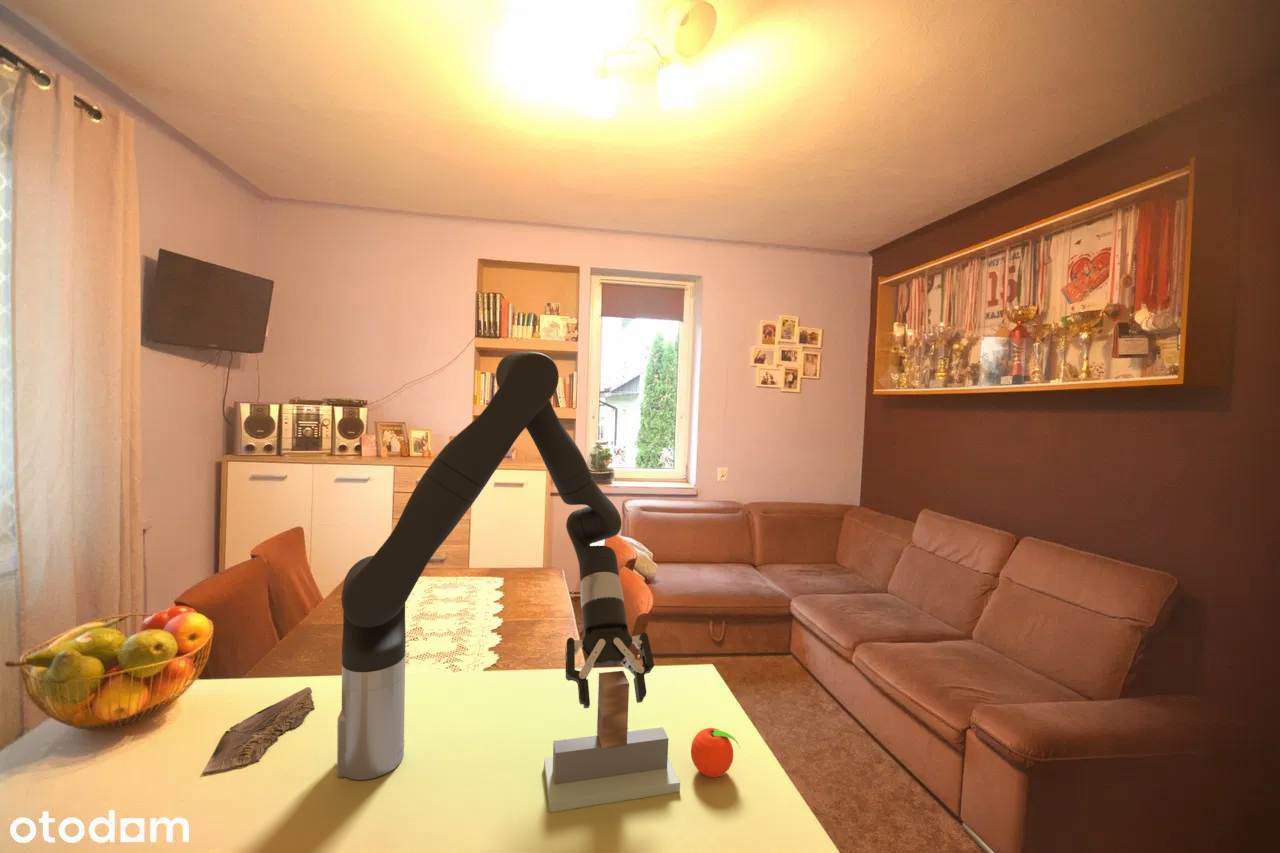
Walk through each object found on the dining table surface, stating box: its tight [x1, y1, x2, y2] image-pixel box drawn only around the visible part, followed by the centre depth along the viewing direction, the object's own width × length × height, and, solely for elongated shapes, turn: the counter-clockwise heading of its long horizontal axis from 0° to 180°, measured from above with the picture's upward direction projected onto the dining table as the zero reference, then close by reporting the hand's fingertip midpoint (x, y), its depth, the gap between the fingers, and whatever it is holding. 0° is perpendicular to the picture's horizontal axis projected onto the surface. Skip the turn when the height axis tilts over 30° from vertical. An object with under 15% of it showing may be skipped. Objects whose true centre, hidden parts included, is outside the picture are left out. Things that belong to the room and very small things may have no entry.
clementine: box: [690, 727, 741, 778], centre depth 89 cm, size 8×7×7 cm
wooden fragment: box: [202, 686, 316, 776], centre depth 97 cm, size 26×11×1 cm, turn 176°
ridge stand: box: [543, 727, 681, 813], centre depth 87 cm, size 20×10×6 cm, turn 105°
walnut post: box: [596, 670, 630, 749], centre depth 87 cm, size 4×4×10 cm
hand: (614, 704), depth 85 cm, fingers open, 8 cm apart
